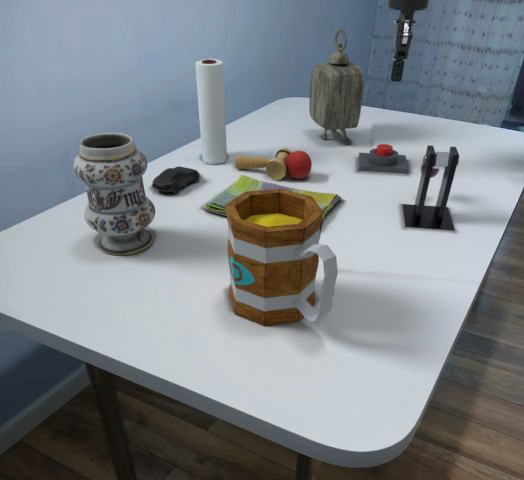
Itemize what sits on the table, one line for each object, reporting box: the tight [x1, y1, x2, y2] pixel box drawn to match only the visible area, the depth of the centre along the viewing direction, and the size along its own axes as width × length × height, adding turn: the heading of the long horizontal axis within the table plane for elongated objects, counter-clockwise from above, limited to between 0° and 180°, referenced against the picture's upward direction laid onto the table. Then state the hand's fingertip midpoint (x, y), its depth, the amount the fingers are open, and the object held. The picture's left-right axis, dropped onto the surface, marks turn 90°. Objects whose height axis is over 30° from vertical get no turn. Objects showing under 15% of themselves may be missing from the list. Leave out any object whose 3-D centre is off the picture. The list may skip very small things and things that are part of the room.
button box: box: [357, 147, 409, 175], centre depth 116 cm, size 11×9×4 cm
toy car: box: [151, 165, 201, 194], centre depth 108 cm, size 6×12×4 cm, turn 149°
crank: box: [420, 151, 450, 179], centre depth 94 cm, size 13×4×4 cm, turn 171°
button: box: [376, 143, 394, 156], centre depth 114 cm, size 4×4×2 cm
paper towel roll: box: [194, 57, 228, 165], centre depth 114 cm, size 7×6×21 cm
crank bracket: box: [401, 144, 460, 232], centre depth 92 cm, size 10×9×14 cm
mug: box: [225, 188, 339, 327], centre depth 70 cm, size 20×14×15 cm
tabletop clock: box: [308, 28, 365, 145], centre depth 125 cm, size 14×9×25 cm, turn 14°
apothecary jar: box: [73, 132, 156, 256], centre depth 84 cm, size 12×12×18 cm
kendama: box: [234, 147, 313, 181], centre depth 113 cm, size 8×6×18 cm
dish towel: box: [202, 174, 342, 222], centre depth 100 cm, size 18×24×3 cm
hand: (395, 80), depth 104 cm, fingers closed
